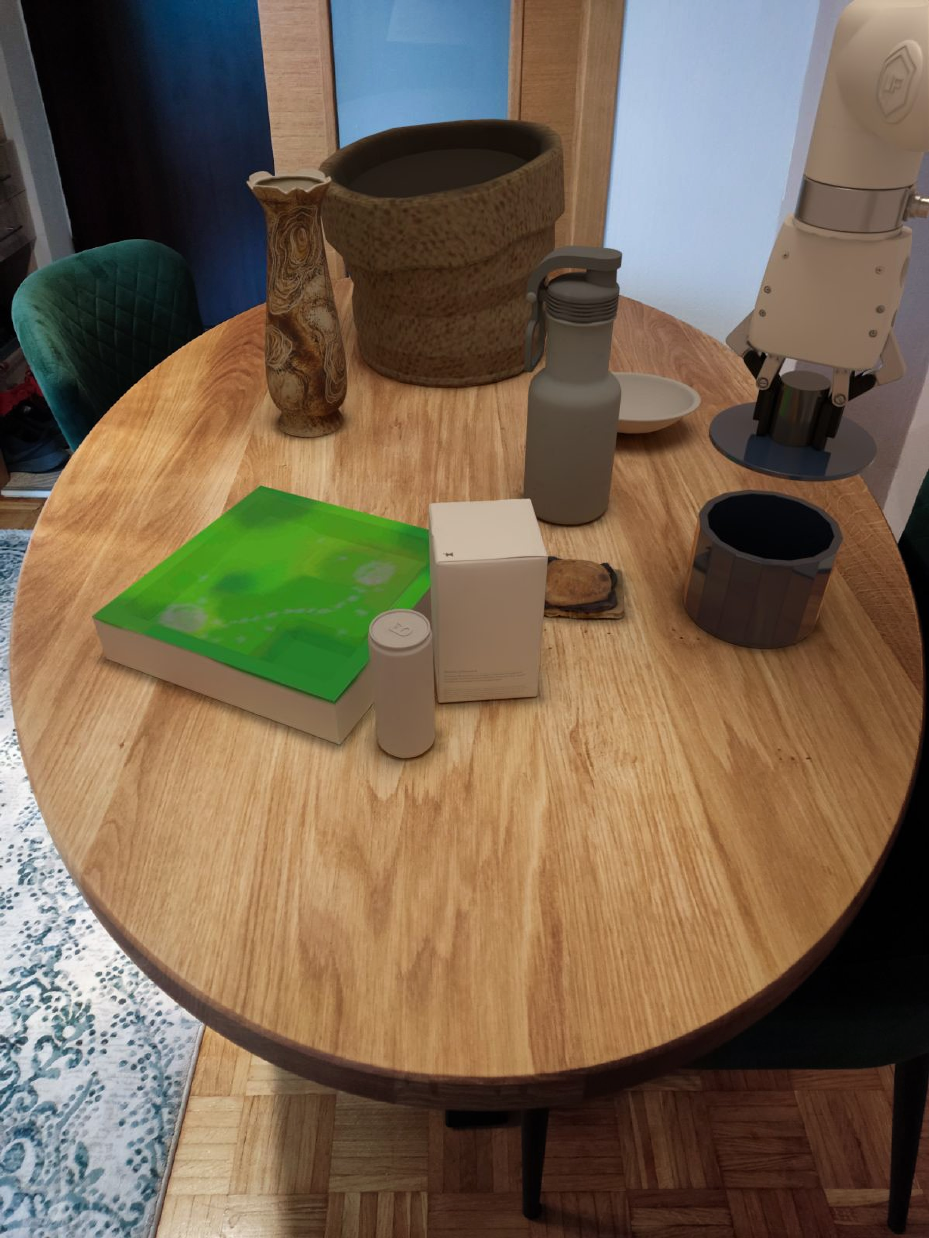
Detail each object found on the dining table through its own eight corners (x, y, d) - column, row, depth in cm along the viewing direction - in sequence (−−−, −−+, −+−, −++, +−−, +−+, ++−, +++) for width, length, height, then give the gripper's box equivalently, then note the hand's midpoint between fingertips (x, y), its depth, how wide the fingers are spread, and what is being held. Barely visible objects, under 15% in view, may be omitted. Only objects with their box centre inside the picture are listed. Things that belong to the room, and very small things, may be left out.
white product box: (540, 699, 76) (551, 557, 67) (437, 705, 76) (433, 563, 66) (525, 632, 83) (533, 495, 74) (431, 638, 83) (426, 500, 73)
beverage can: (402, 711, 75) (395, 599, 68) (447, 735, 73) (445, 622, 65) (365, 744, 72) (353, 632, 65) (411, 770, 70) (404, 657, 62)
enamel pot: (829, 593, 88) (855, 512, 82) (797, 665, 80) (823, 581, 74) (707, 556, 93) (724, 477, 87) (664, 620, 85) (679, 538, 79)
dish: (557, 452, 111) (560, 416, 108) (560, 403, 122) (563, 368, 119) (699, 460, 109) (706, 423, 106) (689, 409, 120) (695, 375, 117)
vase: (262, 415, 119) (224, 173, 100) (335, 398, 123) (312, 163, 105) (290, 447, 112) (255, 193, 93) (366, 428, 116) (347, 181, 97)
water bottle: (509, 518, 99) (519, 261, 81) (531, 477, 106) (544, 233, 89) (598, 534, 96) (628, 272, 79) (615, 490, 104) (645, 242, 86)
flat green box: (266, 524, 98) (260, 485, 95) (469, 581, 90) (469, 540, 86) (106, 658, 80) (91, 616, 77) (340, 744, 72) (334, 700, 69)
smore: (622, 573, 91) (626, 543, 89) (624, 624, 84) (628, 593, 82) (519, 566, 92) (521, 536, 89) (513, 615, 85) (515, 585, 83)
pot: (368, 304, 153) (354, 107, 134) (567, 317, 148) (582, 114, 129) (300, 387, 126) (271, 156, 108) (540, 407, 121) (553, 168, 102)
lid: (887, 434, 77) (909, 368, 74) (854, 505, 68) (877, 434, 64) (735, 400, 83) (748, 336, 79) (684, 461, 74) (697, 393, 70)
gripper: (984, 209, 62) (903, 442, 74) (751, 180, 69) (710, 398, 81) (971, 235, 57) (886, 480, 69) (721, 201, 64) (682, 430, 76)
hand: (792, 434), depth 75 cm, fingers closed on lid, 4 cm apart
